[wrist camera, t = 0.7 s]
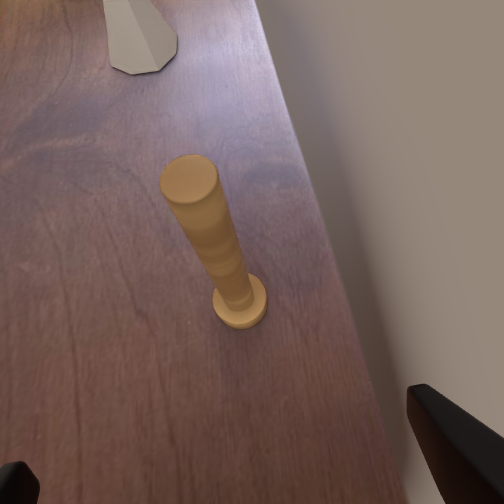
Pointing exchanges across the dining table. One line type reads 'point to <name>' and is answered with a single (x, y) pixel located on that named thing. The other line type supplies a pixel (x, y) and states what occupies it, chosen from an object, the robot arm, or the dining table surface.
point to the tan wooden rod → (213, 238)
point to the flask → (138, 36)
